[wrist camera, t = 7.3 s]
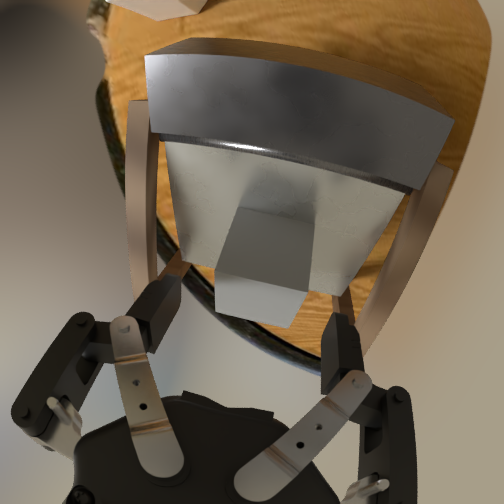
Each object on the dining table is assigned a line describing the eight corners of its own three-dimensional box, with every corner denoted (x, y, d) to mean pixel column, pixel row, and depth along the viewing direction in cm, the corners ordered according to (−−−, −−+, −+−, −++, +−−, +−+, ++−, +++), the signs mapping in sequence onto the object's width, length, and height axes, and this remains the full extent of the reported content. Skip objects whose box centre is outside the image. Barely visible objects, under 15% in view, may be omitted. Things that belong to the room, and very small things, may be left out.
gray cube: (237, 207, 18) (214, 270, 15) (314, 224, 17) (307, 292, 14) (233, 254, 22) (215, 311, 19) (297, 269, 21) (288, 328, 18)
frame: (202, 98, 24) (128, 100, 13) (389, 139, 23) (453, 170, 12) (188, 246, 33) (137, 321, 22) (341, 281, 32) (353, 371, 21)
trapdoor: (178, 37, 12) (129, 56, 9) (432, 90, 11) (468, 127, 8) (190, 235, 26) (170, 279, 23) (344, 270, 25) (342, 318, 22)
